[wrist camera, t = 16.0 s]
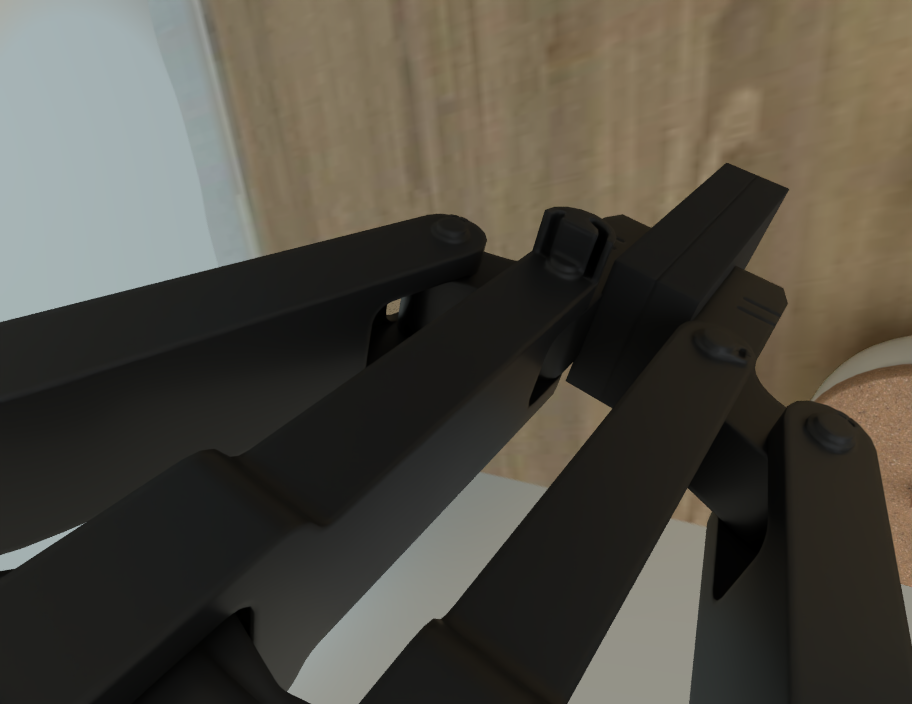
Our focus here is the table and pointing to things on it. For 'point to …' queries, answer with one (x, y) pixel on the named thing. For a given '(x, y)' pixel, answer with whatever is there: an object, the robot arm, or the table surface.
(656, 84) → the table surface
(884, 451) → the trinket box
